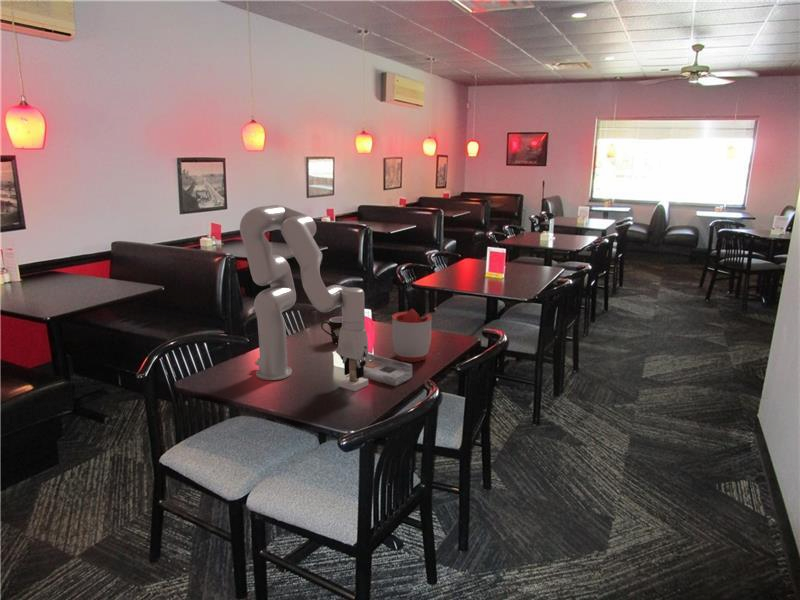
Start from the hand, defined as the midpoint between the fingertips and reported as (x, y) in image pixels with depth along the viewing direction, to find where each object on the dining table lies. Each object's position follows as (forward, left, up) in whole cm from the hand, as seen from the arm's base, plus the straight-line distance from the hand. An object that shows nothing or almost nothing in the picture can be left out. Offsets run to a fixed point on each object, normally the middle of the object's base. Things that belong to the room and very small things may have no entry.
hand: (354, 375), depth 192 cm
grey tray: (+2, +13, -4) cm, 14 cm away
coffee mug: (-37, +33, -4) cm, 50 cm away
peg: (0, 0, -2) cm, 2 cm away
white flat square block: (0, 0, -4) cm, 4 cm away
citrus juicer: (0, +36, -4) cm, 36 cm away
